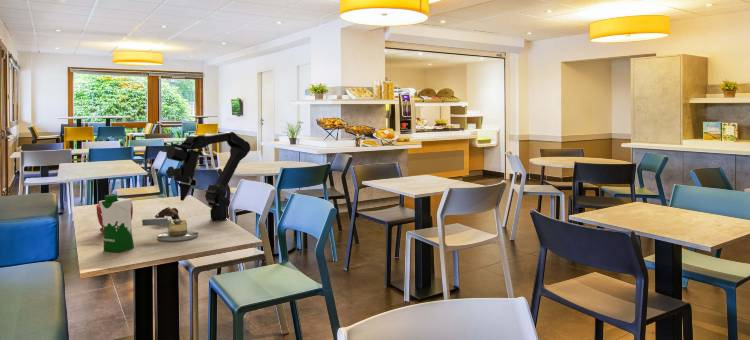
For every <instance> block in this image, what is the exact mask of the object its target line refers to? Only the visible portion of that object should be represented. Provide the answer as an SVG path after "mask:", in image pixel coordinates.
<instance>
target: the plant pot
mask: <svg viewBox="0 0 750 340" xmlns="http://www.w3.org/2000/svg"><path fill="white" fill-rule="evenodd" d="M133 212H134V208H133V204H132V205H131V221H132V220H133ZM96 216H97V220H98V223H99V225H100V228H99V230H100V232H101V233H102V234H103V219H102V211H101V207H100V204H99V203H98V204H97V205H96ZM131 227H133V226H132V225H131Z"/></svg>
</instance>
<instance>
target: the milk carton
mask: <svg viewBox="0 0 750 340" xmlns="http://www.w3.org/2000/svg"><path fill="white" fill-rule="evenodd" d="M98 204H100V207H101V211H102V214H101V215H102V219H103V233H102V234H103V252H110V253H117V254H118V253H119V254H120V253H123V252H125V251H128V250H131V249H134V248H135V245H134V240H133V231H132V227H133V226H132V220H131V205H133V198H123V197H120V198H119V197H118V194H114V193H113V194H111V193H110V194H106V195H104V200H99V201H98ZM131 226H132V227H131Z"/></svg>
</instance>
